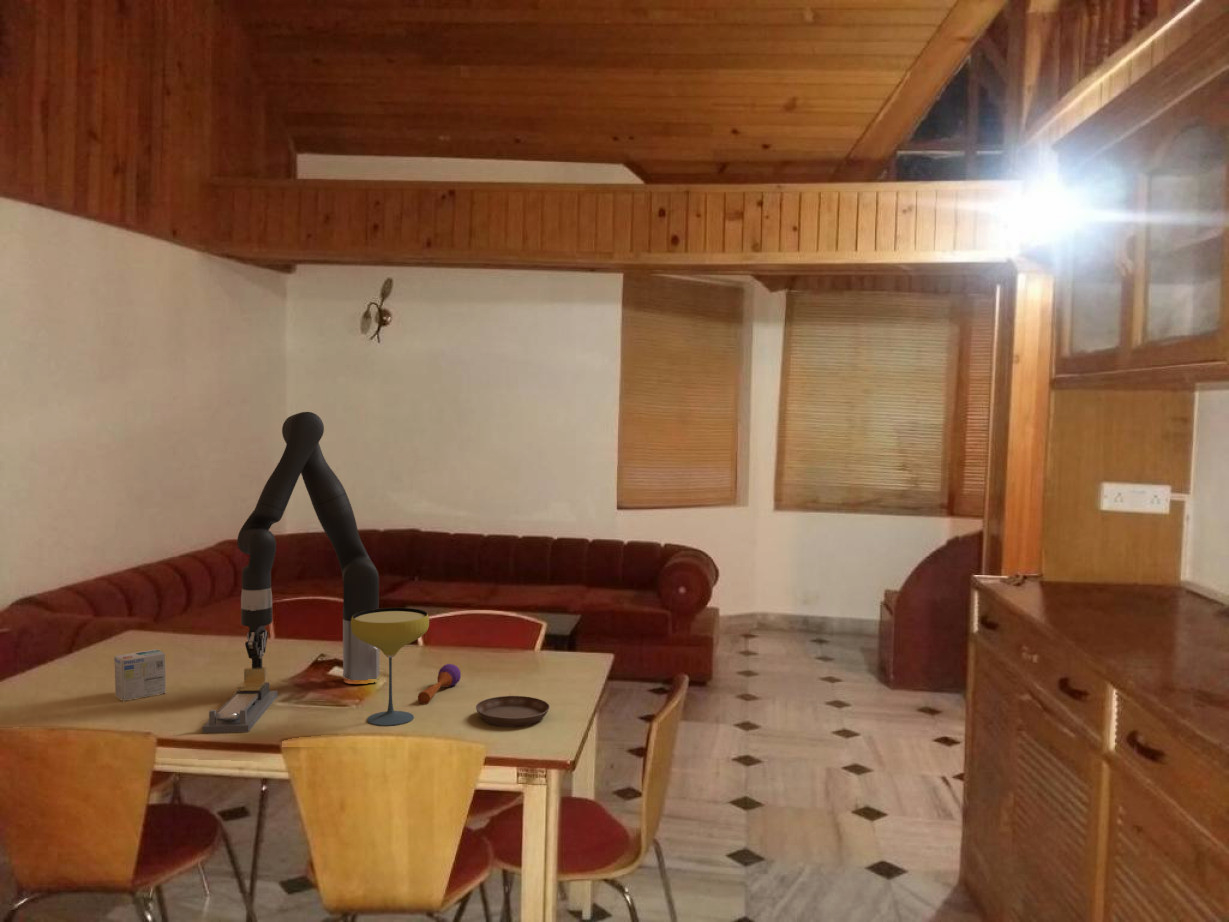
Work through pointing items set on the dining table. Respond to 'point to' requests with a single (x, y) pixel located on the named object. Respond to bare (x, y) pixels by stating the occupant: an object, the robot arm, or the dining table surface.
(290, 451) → the robot arm
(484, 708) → the plant saucer
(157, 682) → the light bulb box
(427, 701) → the purple maraca
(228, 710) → the grey flat bar
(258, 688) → the block
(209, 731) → the base
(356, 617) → the cocktail glass
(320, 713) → the dining table surface
